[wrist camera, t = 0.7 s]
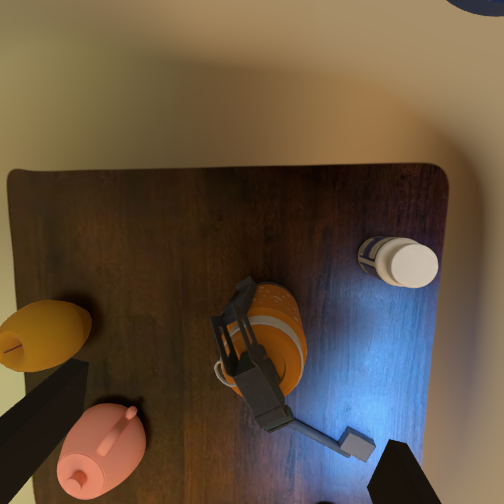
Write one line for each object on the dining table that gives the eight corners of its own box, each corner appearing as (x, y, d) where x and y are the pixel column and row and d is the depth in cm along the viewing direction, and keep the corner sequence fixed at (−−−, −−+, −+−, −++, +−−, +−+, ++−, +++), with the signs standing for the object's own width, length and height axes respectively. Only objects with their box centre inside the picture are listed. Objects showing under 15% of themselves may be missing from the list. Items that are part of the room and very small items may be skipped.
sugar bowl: (74, 428, 44) (13, 487, 34) (116, 373, 42) (66, 419, 32) (127, 472, 44) (82, 545, 34) (172, 419, 42) (139, 480, 32)
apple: (100, 285, 41) (29, 308, 29) (114, 341, 42) (51, 385, 30) (47, 294, 42) (-40, 321, 31) (62, 348, 43) (-17, 394, 31)
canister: (257, 346, 39) (235, 469, 19) (222, 285, 39) (162, 348, 19) (308, 321, 38) (340, 425, 18) (272, 257, 38) (265, 294, 18)
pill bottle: (401, 271, 36) (448, 288, 26) (360, 278, 36) (390, 298, 27) (395, 231, 35) (440, 234, 25) (353, 239, 36) (381, 245, 26)
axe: (284, 419, 40) (284, 425, 39) (296, 398, 40) (297, 403, 38) (359, 460, 39) (362, 467, 38) (373, 439, 39) (376, 446, 38)
